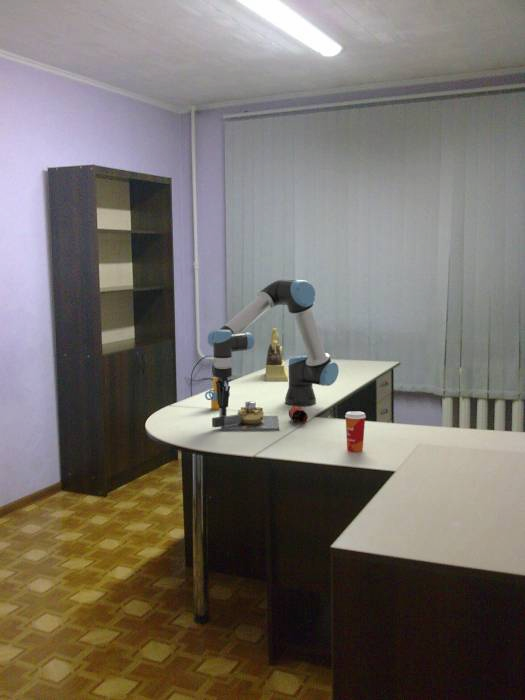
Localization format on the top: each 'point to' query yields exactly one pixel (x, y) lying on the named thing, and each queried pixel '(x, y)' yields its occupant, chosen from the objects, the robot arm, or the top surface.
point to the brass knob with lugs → (240, 418)
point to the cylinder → (213, 395)
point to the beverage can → (298, 414)
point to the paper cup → (355, 430)
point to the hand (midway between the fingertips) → (223, 422)
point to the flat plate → (268, 424)
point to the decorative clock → (275, 360)
